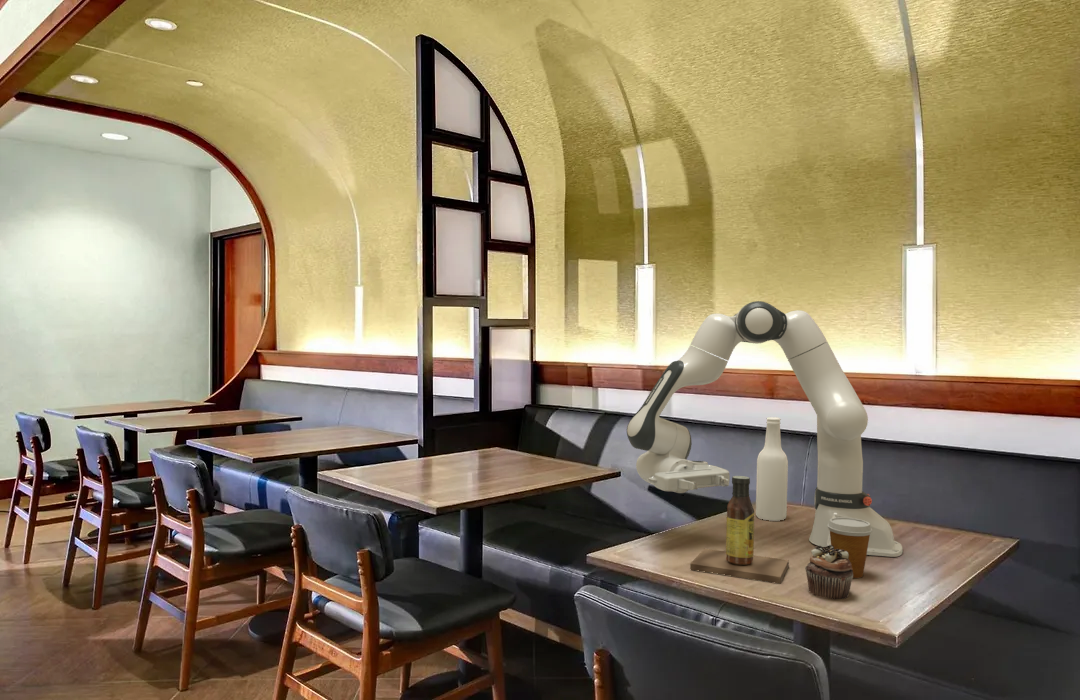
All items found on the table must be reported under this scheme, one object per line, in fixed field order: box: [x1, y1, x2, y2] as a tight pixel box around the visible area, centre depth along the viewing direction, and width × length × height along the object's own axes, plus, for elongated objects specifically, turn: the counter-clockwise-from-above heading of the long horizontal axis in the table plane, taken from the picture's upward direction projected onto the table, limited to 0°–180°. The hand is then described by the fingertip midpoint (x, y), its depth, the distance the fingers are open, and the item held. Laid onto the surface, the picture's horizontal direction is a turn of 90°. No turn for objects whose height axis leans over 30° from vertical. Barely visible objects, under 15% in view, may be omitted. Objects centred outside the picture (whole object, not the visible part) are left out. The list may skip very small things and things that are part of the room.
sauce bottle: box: [725, 475, 755, 565], centre depth 177 cm, size 6×6×20 cm
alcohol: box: [755, 416, 789, 522], centre depth 226 cm, size 9×9×30 cm
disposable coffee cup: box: [827, 517, 872, 579], centre depth 175 cm, size 10×10×12 cm
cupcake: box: [804, 545, 854, 600], centre depth 162 cm, size 10×10×10 cm
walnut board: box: [689, 548, 790, 584], centre depth 177 cm, size 20×14×2 cm
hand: (711, 484), depth 188 cm, fingers open, 8 cm apart
